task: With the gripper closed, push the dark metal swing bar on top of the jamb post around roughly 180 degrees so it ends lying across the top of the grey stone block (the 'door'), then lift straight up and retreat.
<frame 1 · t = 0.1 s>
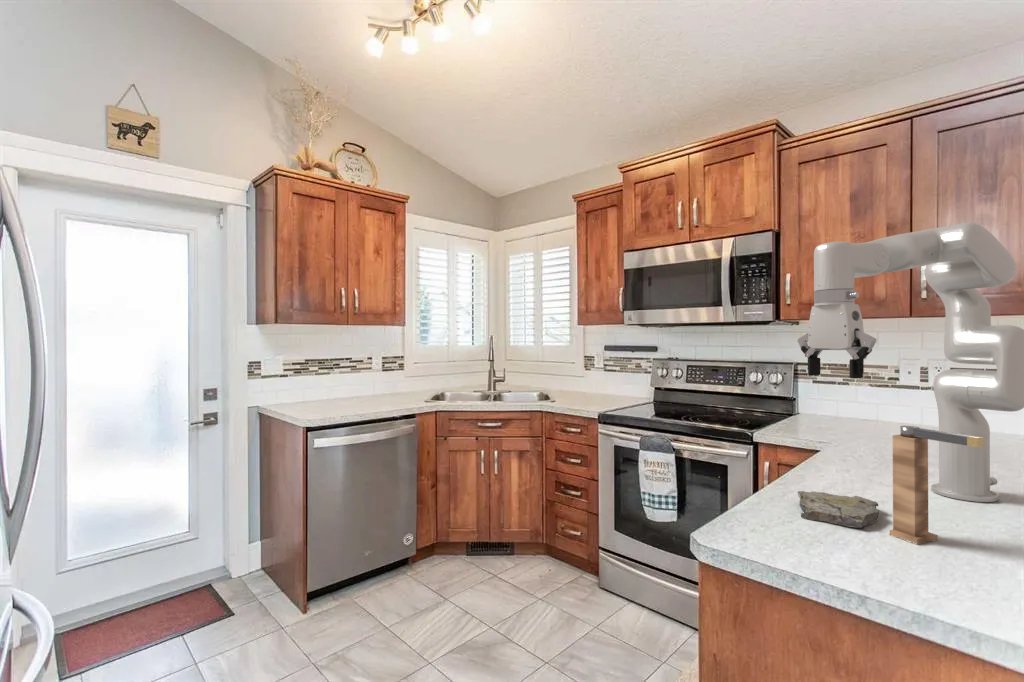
hand: (834, 376, 110), 31 cm above the worktop, fingers open, 9 cm apart
stone: (841, 519, 111), on the worktop
jamb post: (910, 536, 99), on the worktop
latch bar: (938, 435, 95), point 21 cm above the worktop, hinge at 0.0°
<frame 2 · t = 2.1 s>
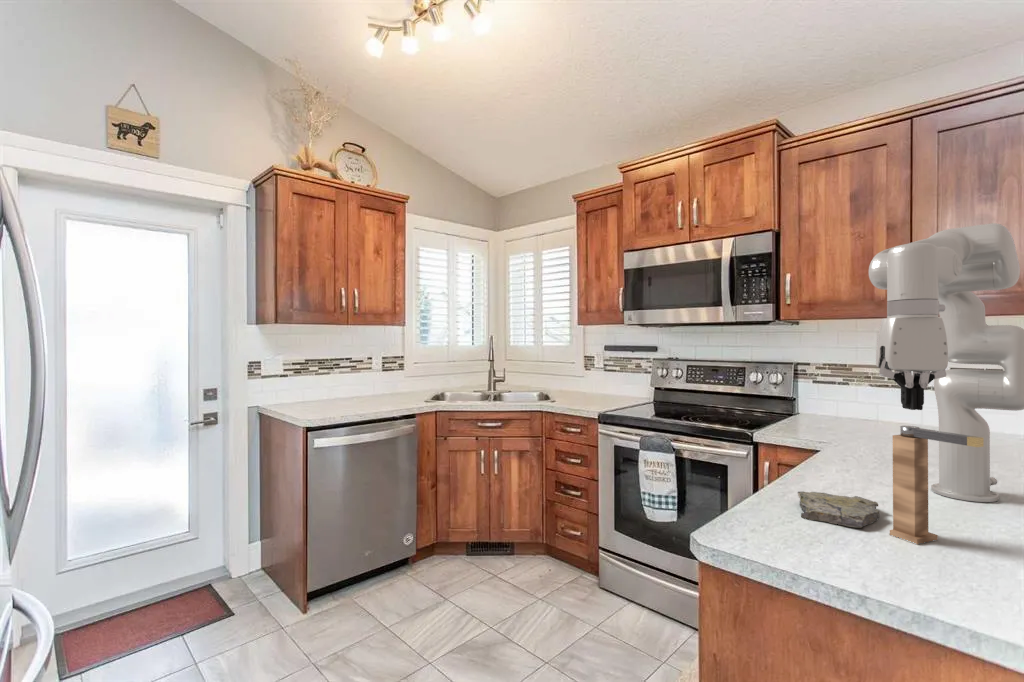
hand: (912, 408, 93), 26 cm above the worktop, fingers closed
nothing on the worktop moved.
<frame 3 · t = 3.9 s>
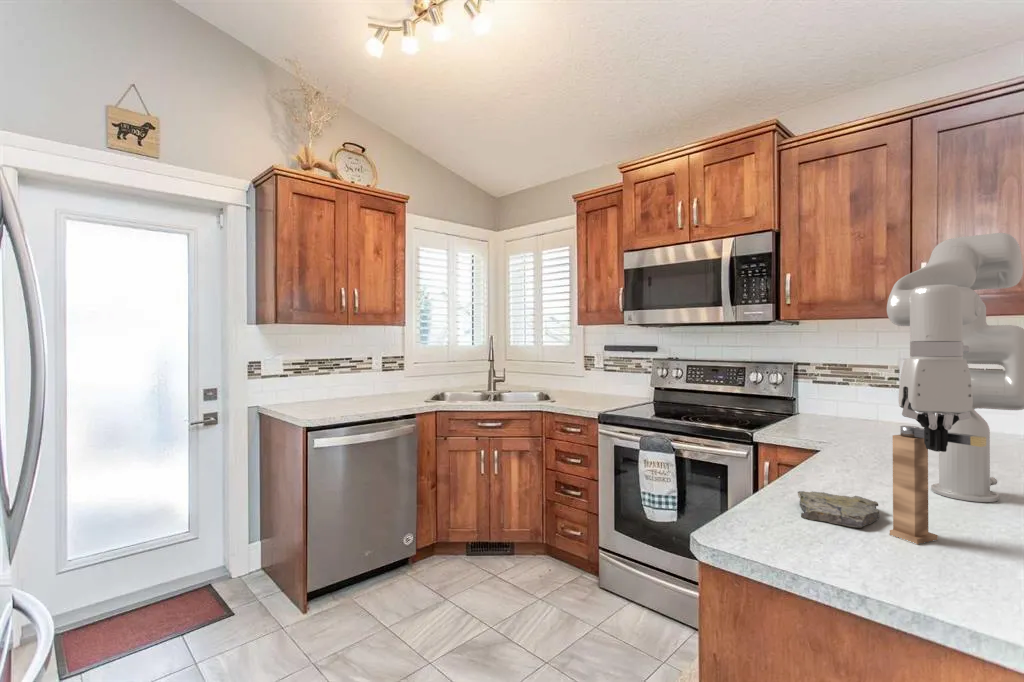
hand: (935, 450, 93), 19 cm above the worktop, fingers closed
latch bar: (940, 435, 95), point 21 cm above the worktop, hinge at 5.2°, touching gripper
everything else where it was.
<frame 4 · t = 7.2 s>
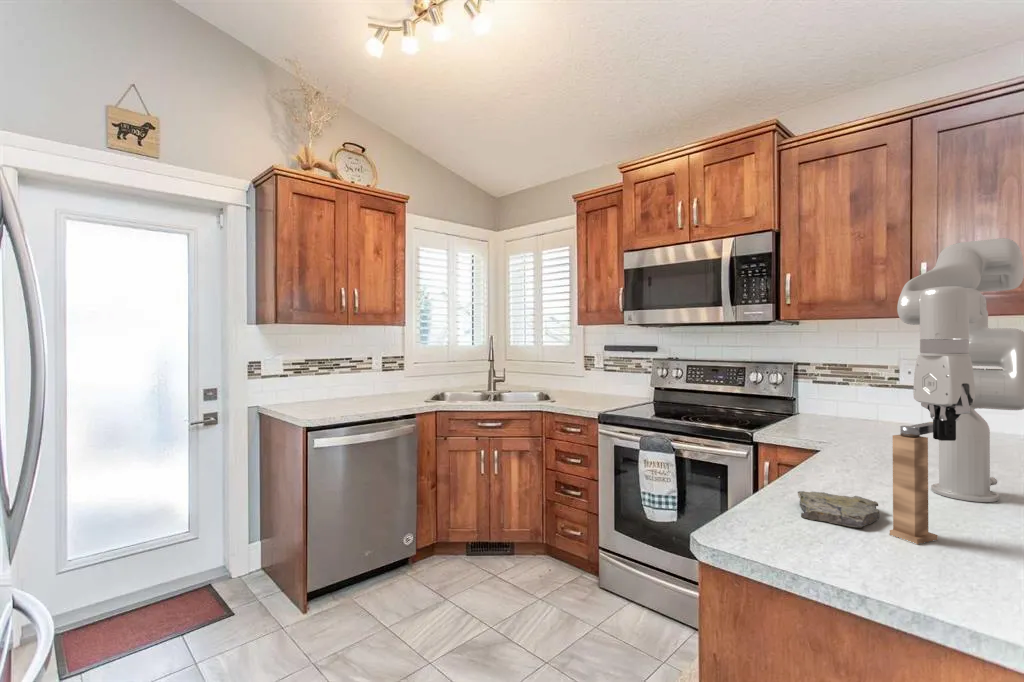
hand: (944, 439, 100), 19 cm above the worktop, fingers closed
latch bar: (921, 429, 102), point 21 cm above the worktop, hinge at 100.1°, touching gripper
everything else where it was.
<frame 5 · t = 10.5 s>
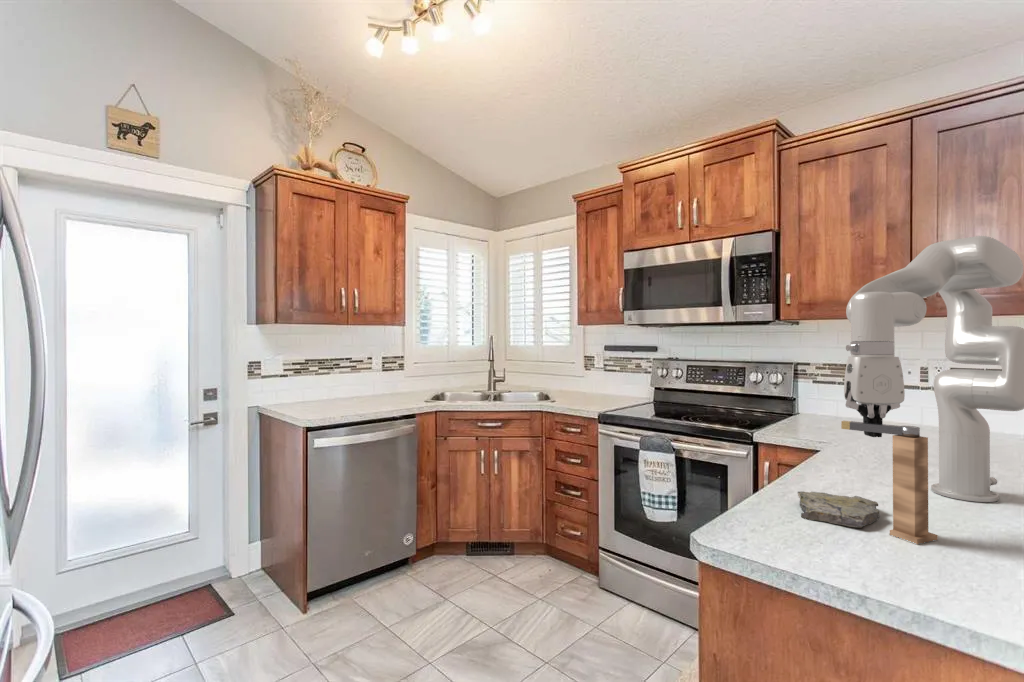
hand: (872, 435, 106), 19 cm above the worktop, fingers closed
latch bar: (879, 428, 103), point 21 cm above the worktop, hinge at 204.0°, touching gripper
everything else where it was.
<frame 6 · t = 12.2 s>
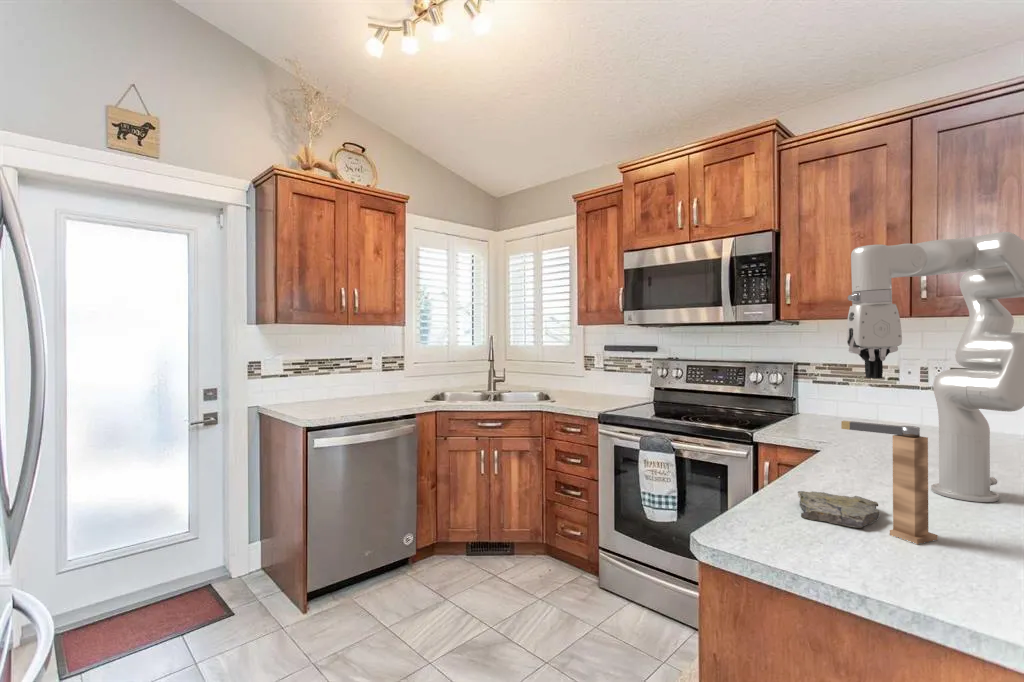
hand: (874, 377, 116), 30 cm above the worktop, fingers closed
latch bar: (879, 428, 103), point 21 cm above the worktop, hinge at 204.1°
everything else where it was.
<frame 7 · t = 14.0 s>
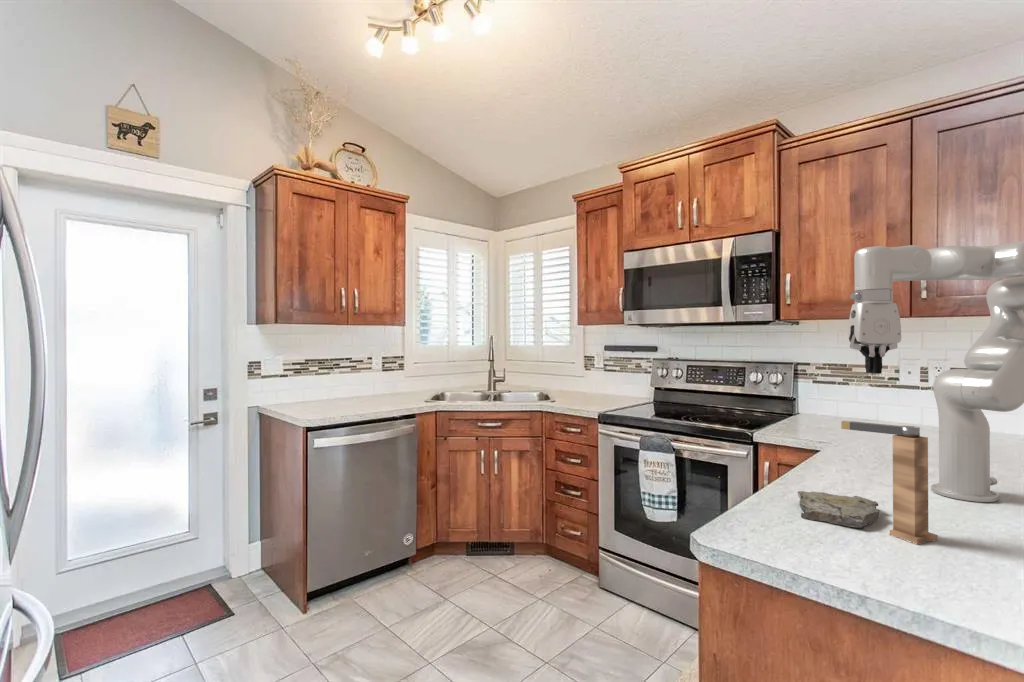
hand: (873, 373, 122), 31 cm above the worktop, fingers closed
nothing on the worktop moved.
at the end: latch bar at +204° (first picture: +0°) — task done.
